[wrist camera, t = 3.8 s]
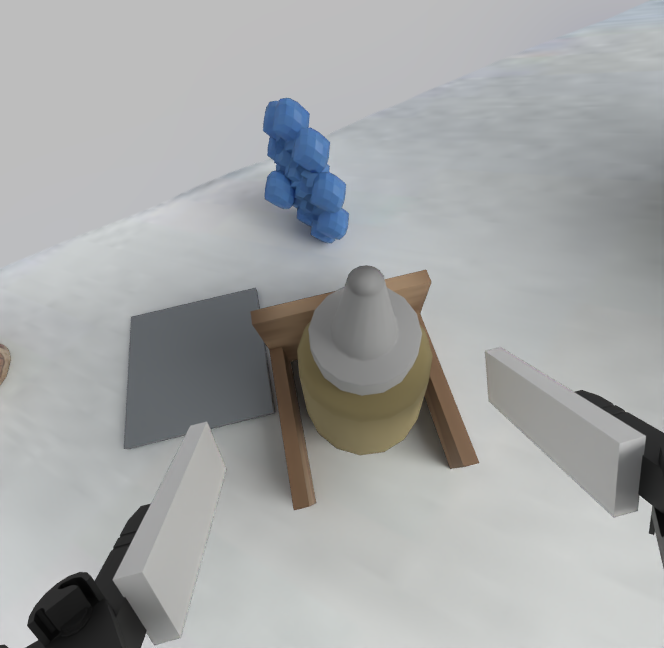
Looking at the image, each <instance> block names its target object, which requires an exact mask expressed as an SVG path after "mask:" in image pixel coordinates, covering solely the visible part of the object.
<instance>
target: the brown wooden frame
mask: <svg viewBox="0 0 664 648" xmlns="http://www.w3.org/2000/svg"><path fill="white" fill-rule="evenodd" d="M385 283H386V287H387V288H389V289H390V290H392V291H394V292H395V293H397V294H399V295H400V296H402V297H404V298H405V299H406V301H407V302H408V303H409V304H410V306H411V307H412V308H413V310H414V311H415V312H416V313H417V316H418V320H419V324H420V325H421V326H422V327H423V329H424V330H425V331H426V334H427V337H428V341H429V345H430V348H431V352H432V356H433V357H432V364H431V370H430V376H429V382H428V385H427V389H426V392H425V395H424V397H425V399H426V402H427V405H428V408H429V411H430V413H431V416H432V419H433V422H434V425H435V427H436V430H437V433H438V436H439V439H440V441H441V444H442V447H443V450H444V453H445V455H446V458H447V461H448V464H449V467H450V469H452V468H459V467H466V466H469V465H473V464H477V463H479V461H478V458H477V456H476V453H475V451H474V448H473V446H472V443H471V441H470V438H469V436H468V433H467V431H466V428H465V426H464V423H463V421H462V418H461V415H460V413H459V410H458V408H457V405H456V403H455V400H454V398H453V395H452V393H451V390H450V388H449V385H448V383H447V380H446V378H445V375H444V373H443V370H442V368H441V365H440V363H439V360H438V358H437V355H436V352H435V350H434V347H433V345H432V342H431V340H430V337H429V335H428V332H427V330H426V327H425V325H424V322H423V320H422V317H421V315H420V312H421V310H422V307H423V304H424V301H425V299H426V296H427V293H428V290H429V287H430V285H431V280H430V277H429V275H428V273H427V270H423V271H419V272H414V273H410V274H406V275H402V276H397V277H393V278H389V279H385ZM334 292H336V291H334ZM334 292H330V293H326V294H321V295H317V296H313V297H309V298H304V299H300V300H296V301H292V302H287V303H283V304H279V305H275V306H271V307H266V308H262V309H258V310H254V311H250V313H251V320H252V325H253V327H254V328H255V330H256V331H257V332H258V334H259V335H260V337H261V338H262V340H263V341H264V343H265V344H266V346H267V347H268V348H269V350H270V357H271V364H272V370H273V377H274V383H275V390H276V396H277V403H278V410H279V416H280V423H281V429H282V436H283V442H284V449H285V456H286V462H287V469H288V475H289V482H290V488H291V495H292V502H293V508H294V510H297V509H301V508H305V507H309V506H311V505H313V504H315V503H316V499H315V493H314V488H313V482H312V477H311V471H310V465H309V460H308V454H307V449H306V443H305V438H304V432H303V427H302V421H301V416H300V410H299V405H298V399H297V394H296V388H295V382H294V377H293V371H292V366H291V362H292V361H296V360H298V354H297V349H298V346H299V343H300V341H301V338H302V335H303V332H304V329H305V327H306V326H307V325H308V323H309V322H310V321H311V320H312V317H313V314H314V311H315V309H316V308H317V307H318V306H319V305H320V304H321V303H322V302H323V300H324V299H325V298H326V297H327V296H328V295H330V294H332V293H334Z"/></svg>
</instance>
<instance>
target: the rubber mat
mask: <svg viewBox="0 0 664 648" xmlns="http://www.w3.org/2000/svg"><path fill="white" fill-rule="evenodd" d="M258 309H260V308H259V301H258V295H257V290H256V288H253V289H248V290H244V291H240V292H236V293H231V294H227V295H223V296H219V297H214V298H210V299H206V300H201V301H197V302H193V303H189V304H184V305H180V306H176V307H172V308H167V309H163V310H159V311H154V312H150V313H146V314H142V315H137V316H133V317H131V330H130V348H129V366H128V385H127V403H126V421H125V439H124V449H131V448H135V447H139V446H143V445H147V444H151V443H155V442H159V441H164V440H168V439H172V438H176V437H180V436H184V435H186V433H187V431H188V429H189V427H190V426H191V425H195V424H199V423H203V422H207V423H208V425H209V427H210V429H212V428H216V427H220V426H224V425H228V424H233V423H237V422H241V421H245V420H249V419H253V418H257V417H261V416H265V415H269V414H273V413H275V411H274V404H273V397H272V390H271V383H270V376H269V370H268V363H267V356H266V349H265V343H264V341H263V340H262V338H261V337H260V335H259V334H258V332H257V331H256V330H255V328H254V327H253V325H252V320H251V313H250V311H254V310H258Z"/></svg>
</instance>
